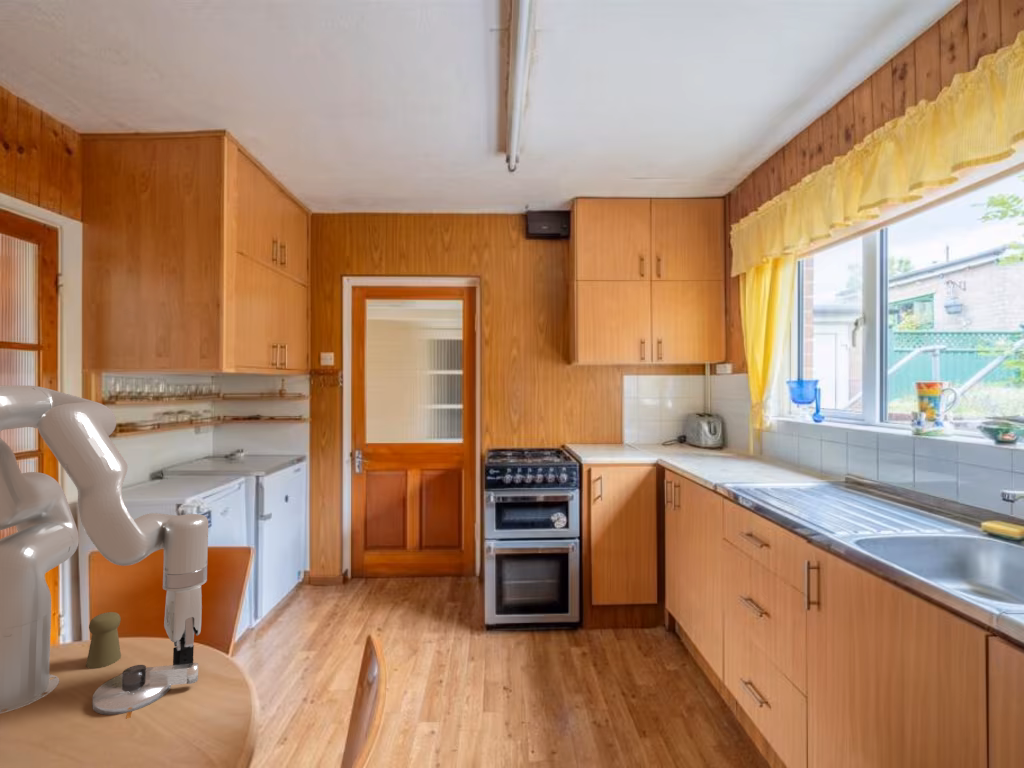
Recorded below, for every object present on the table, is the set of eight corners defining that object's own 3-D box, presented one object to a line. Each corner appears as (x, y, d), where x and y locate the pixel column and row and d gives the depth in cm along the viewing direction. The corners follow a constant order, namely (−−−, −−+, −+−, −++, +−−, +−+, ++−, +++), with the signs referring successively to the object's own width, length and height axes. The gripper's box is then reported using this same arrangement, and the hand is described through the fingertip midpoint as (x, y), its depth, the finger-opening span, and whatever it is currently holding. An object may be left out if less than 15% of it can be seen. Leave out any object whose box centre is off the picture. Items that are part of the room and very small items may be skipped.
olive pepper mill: (100, 676, 100) (102, 623, 100) (77, 672, 101) (78, 619, 101) (129, 660, 106) (130, 610, 106) (106, 656, 107) (108, 607, 107)
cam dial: (76, 718, 86) (77, 693, 86) (115, 678, 98) (116, 655, 98) (183, 707, 90) (184, 683, 90) (209, 669, 102) (209, 648, 102)
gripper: (156, 570, 102) (154, 657, 102) (170, 593, 91) (167, 691, 91) (198, 562, 107) (196, 644, 107) (215, 583, 97) (213, 675, 97)
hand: (183, 665), depth 99 cm, fingers closed
